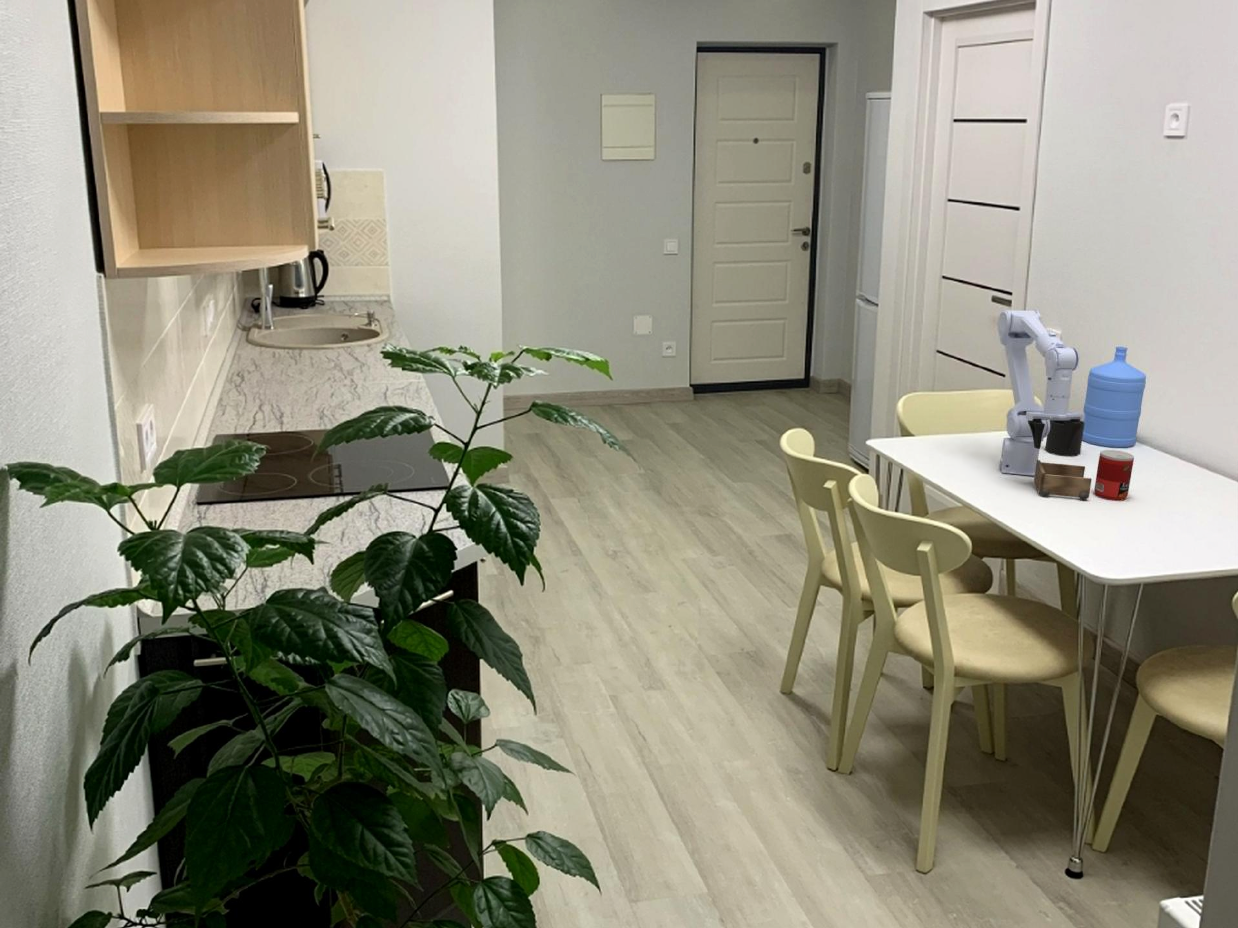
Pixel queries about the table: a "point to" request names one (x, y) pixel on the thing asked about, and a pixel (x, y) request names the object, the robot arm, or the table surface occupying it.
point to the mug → (1056, 440)
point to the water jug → (1113, 403)
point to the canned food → (1113, 474)
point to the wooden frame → (1061, 480)
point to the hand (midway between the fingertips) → (1051, 448)
